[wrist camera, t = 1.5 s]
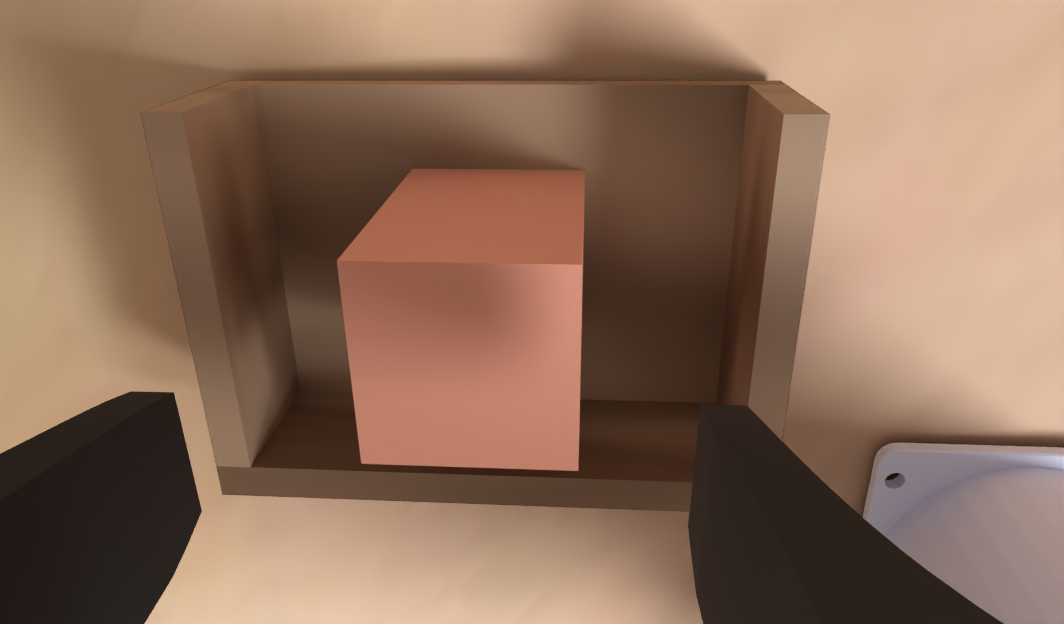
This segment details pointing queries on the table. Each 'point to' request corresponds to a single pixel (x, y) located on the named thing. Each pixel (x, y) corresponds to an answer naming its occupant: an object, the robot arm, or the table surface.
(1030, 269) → the table surface
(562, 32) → the table surface
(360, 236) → the block
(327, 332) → the box
